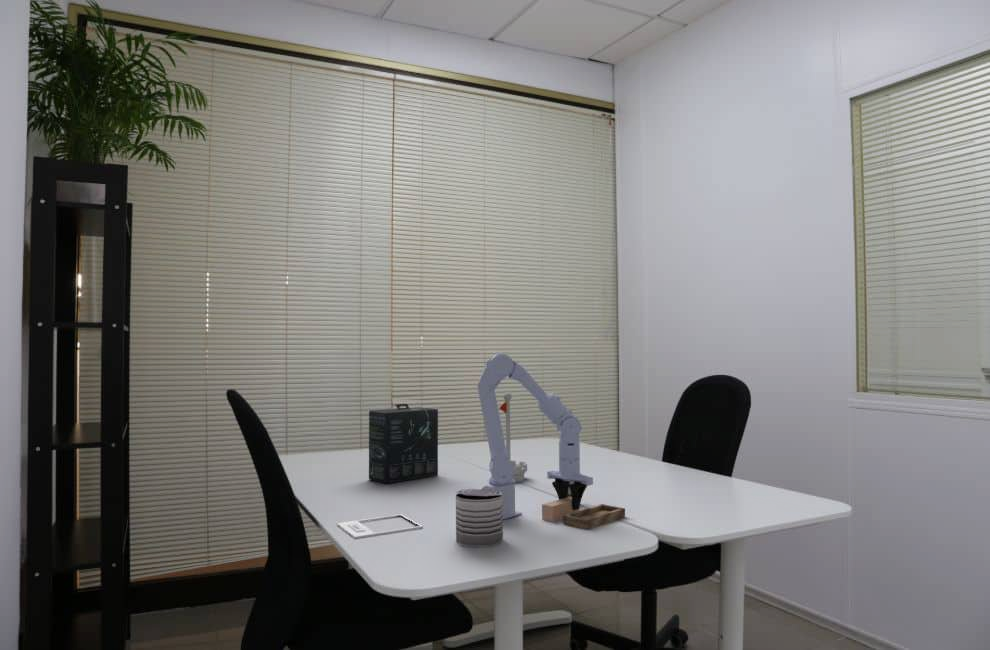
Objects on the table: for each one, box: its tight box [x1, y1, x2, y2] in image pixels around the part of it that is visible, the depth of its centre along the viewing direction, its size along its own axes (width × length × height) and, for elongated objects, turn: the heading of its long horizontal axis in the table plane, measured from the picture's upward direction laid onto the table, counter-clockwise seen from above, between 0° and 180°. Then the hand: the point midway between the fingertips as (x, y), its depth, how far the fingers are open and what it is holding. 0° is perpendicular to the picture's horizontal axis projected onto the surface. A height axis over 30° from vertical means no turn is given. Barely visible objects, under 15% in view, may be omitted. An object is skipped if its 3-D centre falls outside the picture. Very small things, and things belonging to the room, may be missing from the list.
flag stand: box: [489, 391, 528, 483], centre depth 236 cm, size 13×13×30 cm
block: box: [541, 497, 580, 522], centre depth 185 cm, size 12×4×4 cm, turn 137°
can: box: [454, 488, 504, 549], centre depth 163 cm, size 11×11×12 cm
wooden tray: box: [562, 503, 626, 530], centre depth 180 cm, size 17×8×2 cm, turn 135°
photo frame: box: [336, 513, 424, 539], centre depth 176 cm, size 15×1×18 cm
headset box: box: [368, 403, 439, 484], centre depth 241 cm, size 22×12×26 cm, turn 133°
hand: (569, 508), depth 188 cm, fingers closed on block, 4 cm apart
